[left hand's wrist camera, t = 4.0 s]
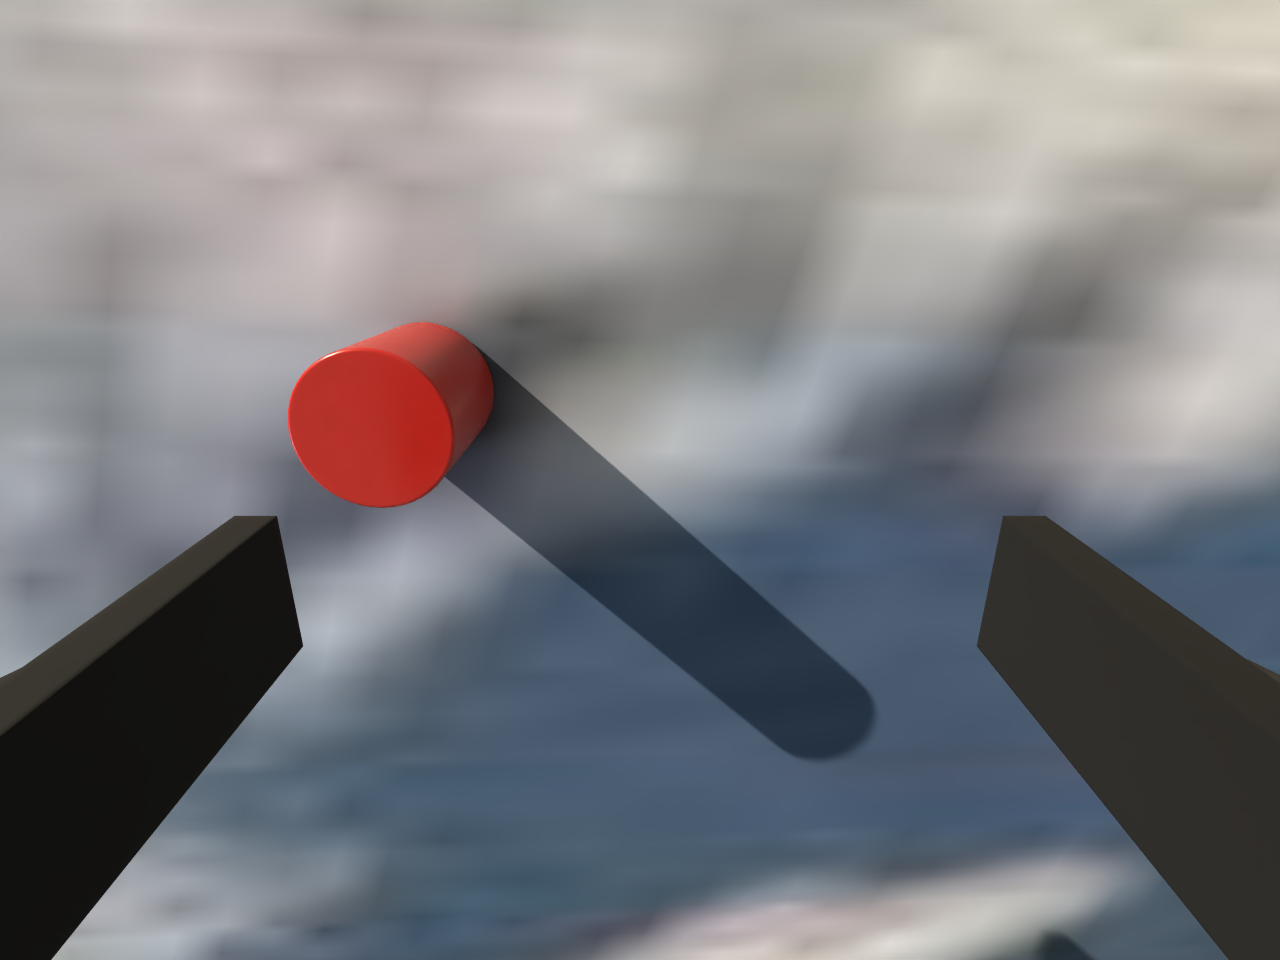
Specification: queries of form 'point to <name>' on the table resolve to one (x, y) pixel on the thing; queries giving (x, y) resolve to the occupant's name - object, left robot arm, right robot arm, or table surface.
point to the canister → (390, 413)
